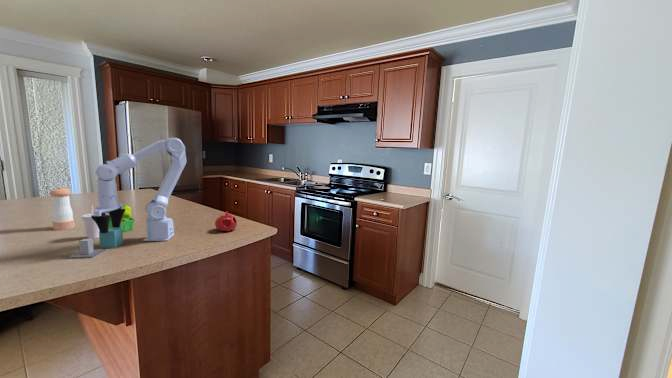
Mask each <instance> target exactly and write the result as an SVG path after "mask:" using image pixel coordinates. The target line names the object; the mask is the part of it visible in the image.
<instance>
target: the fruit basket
mask: <svg viewBox="0 0 672 378" xmlns="http://www.w3.org/2000/svg"><path fill="white" fill-rule="evenodd" d="M130 206H131V205H128V204H125V205H124V204H123V208H121V209H125V212H124V214H123V216H122V219H121V224H120V227H122V233H125V232H129V231H133V230H134V229H133V228H134V224H135V221H136V218H133V217H131V216H132V207H130ZM110 227H113V226H112V221H111V218H110V220H109V228H110Z"/></svg>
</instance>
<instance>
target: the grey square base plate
mask: <svg viewBox="0 0 672 378" xmlns="http://www.w3.org/2000/svg"><path fill="white" fill-rule="evenodd" d="M93 240H94V238H91V239H89V238H82V239H80V240H79V242H78V243H79V251H78V252H76V253H74V254H71V255H70V256H68V259H93V258H95V257H96V256H97V255H100V254H101V253H103V252H105V249H106V248H99V249H96V248H94V241H93Z"/></svg>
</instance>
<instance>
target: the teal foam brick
mask: <svg viewBox="0 0 672 378" xmlns="http://www.w3.org/2000/svg"><path fill="white" fill-rule="evenodd" d="M123 233H124V232H122V227H110V228H109V229H108V233H101V232H100V231H99V237H98V239H99V246H100V247H99V249H110V248H111V249H115V248H117V247H119V246H121V245H122V244H124V235H123Z"/></svg>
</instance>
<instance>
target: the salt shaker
mask: <svg viewBox="0 0 672 378" xmlns="http://www.w3.org/2000/svg"><path fill="white" fill-rule="evenodd" d="M71 194H72V191H71V190H70V189H69V188H65V187H64V188H63V187H62V186H59V187H57V188H53V189H51V190H50V191H49V196H50V197H52V219H53V221H52V229H53V230H54V231H61V230H69V229H74V228H75V226H76V225H75V219H74V213H73V209H72V206H71V201H70V200H71V199H70V195H71Z"/></svg>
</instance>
